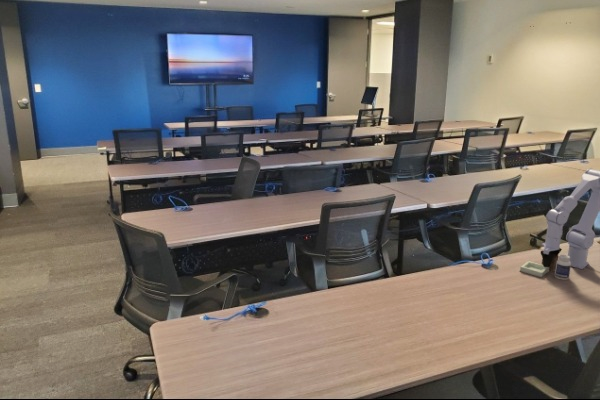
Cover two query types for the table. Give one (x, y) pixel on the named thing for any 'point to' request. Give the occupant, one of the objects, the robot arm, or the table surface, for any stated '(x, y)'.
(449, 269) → the table surface
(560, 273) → the pill bottle
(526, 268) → the tray
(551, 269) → the walnut block
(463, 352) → the table surface
